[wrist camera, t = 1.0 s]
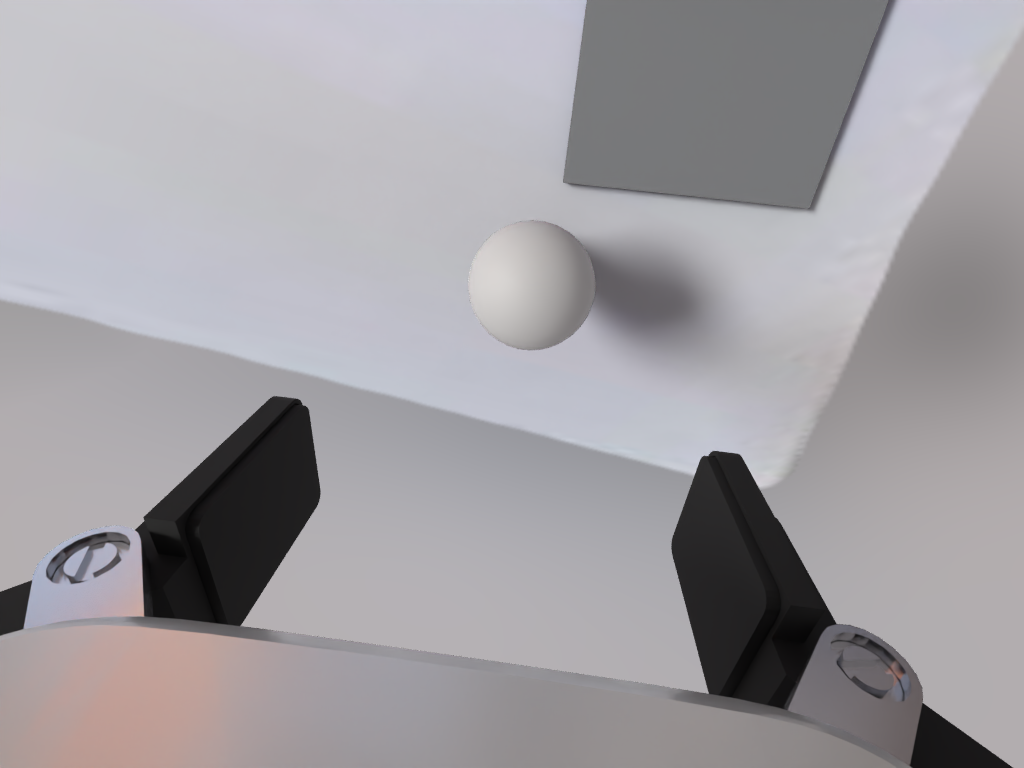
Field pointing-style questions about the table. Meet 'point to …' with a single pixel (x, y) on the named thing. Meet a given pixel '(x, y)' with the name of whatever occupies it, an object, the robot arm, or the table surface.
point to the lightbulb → (531, 285)
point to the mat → (716, 95)
